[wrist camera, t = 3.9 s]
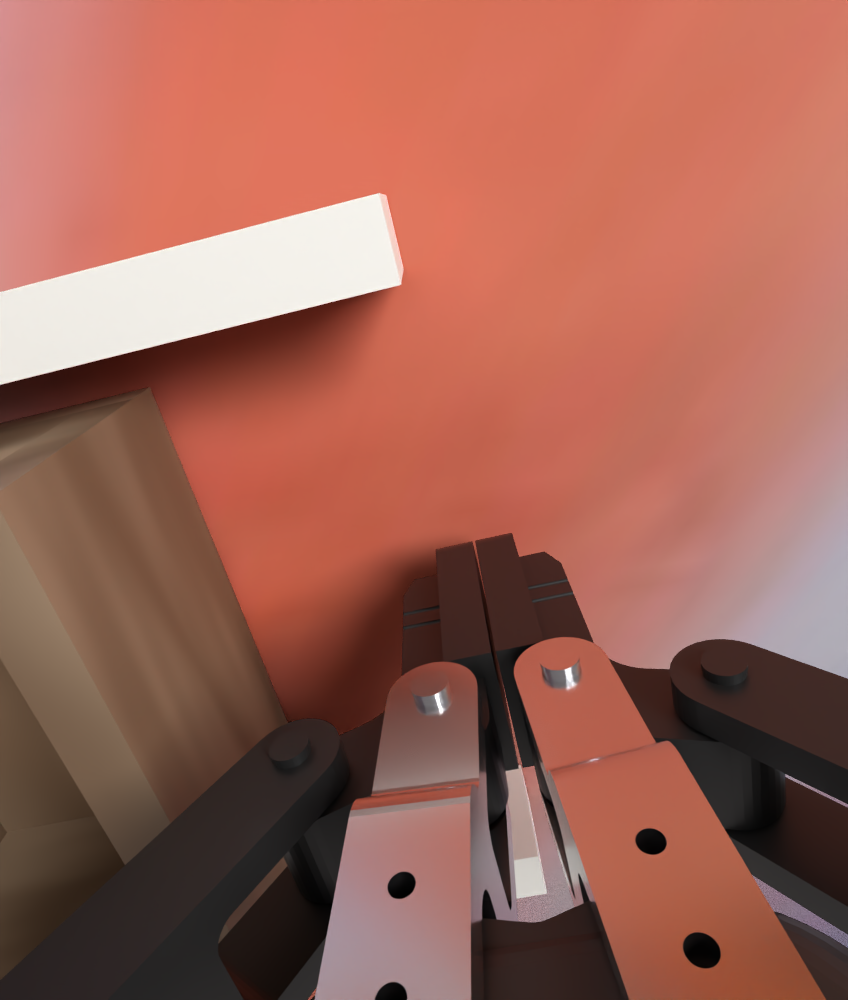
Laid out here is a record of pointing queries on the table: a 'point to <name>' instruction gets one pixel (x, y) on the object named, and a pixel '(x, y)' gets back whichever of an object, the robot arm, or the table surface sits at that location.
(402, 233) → the table surface
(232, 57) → the table surface
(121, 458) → the crate
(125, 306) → the bay
